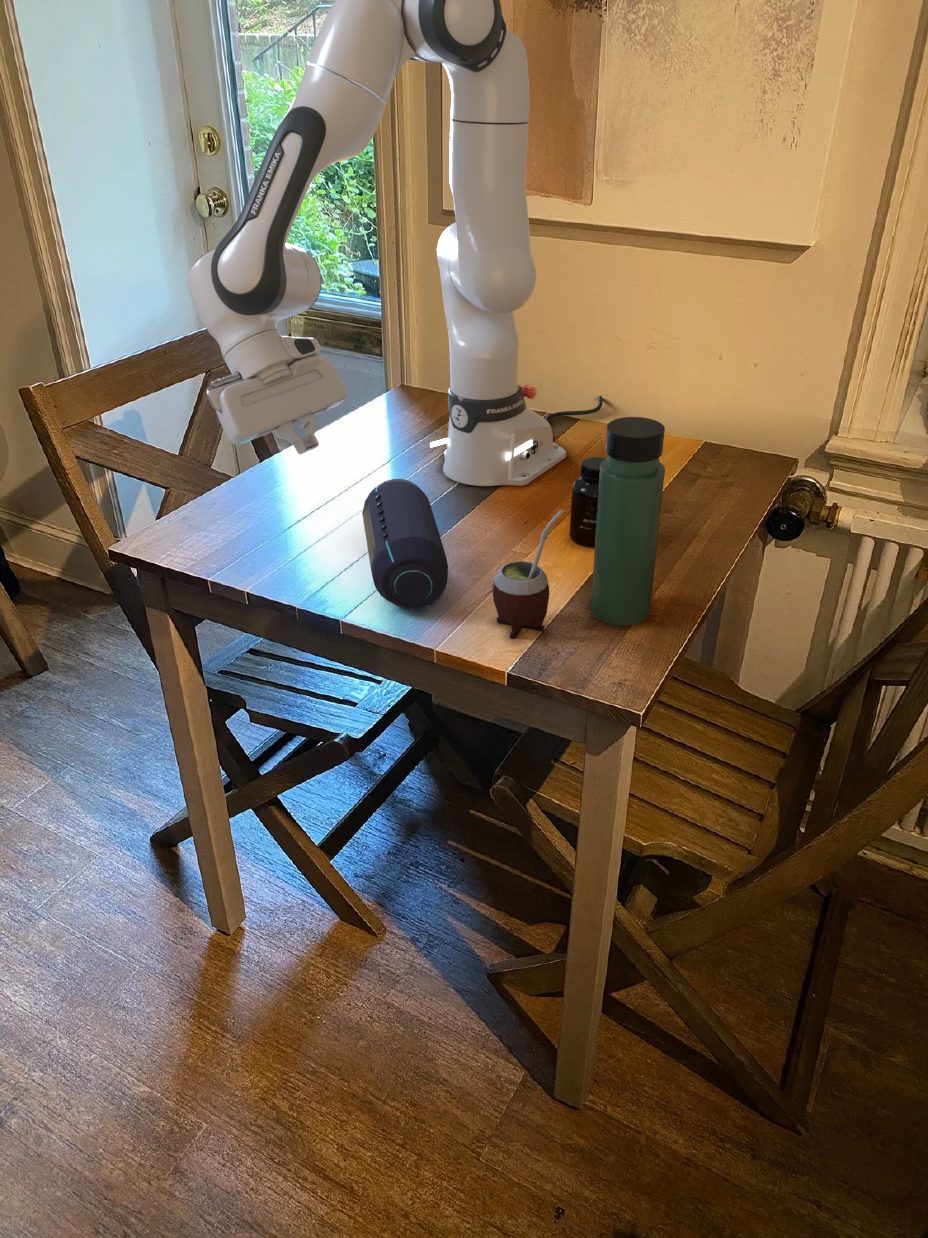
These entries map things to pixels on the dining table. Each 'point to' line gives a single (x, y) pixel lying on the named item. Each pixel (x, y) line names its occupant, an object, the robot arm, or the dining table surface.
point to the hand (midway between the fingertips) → (309, 449)
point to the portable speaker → (404, 545)
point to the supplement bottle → (585, 503)
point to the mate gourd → (523, 591)
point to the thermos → (628, 521)
